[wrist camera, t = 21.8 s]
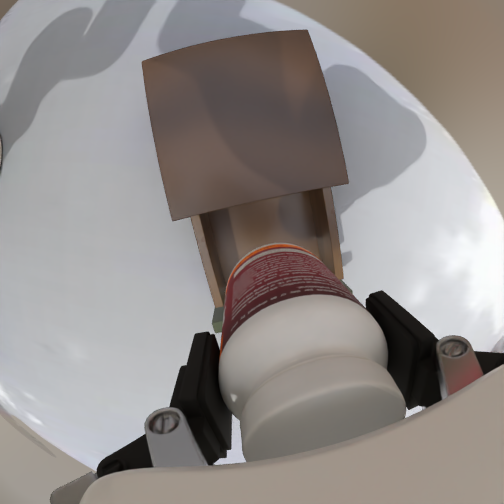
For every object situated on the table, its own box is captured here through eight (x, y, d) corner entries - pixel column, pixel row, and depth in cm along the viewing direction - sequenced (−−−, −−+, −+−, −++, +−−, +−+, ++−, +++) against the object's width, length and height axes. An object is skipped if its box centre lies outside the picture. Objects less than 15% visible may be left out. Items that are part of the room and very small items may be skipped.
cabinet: (321, 182, 29) (349, 183, 21) (190, 211, 29) (172, 221, 21) (291, 62, 25) (307, 29, 17) (164, 88, 25) (141, 61, 17)
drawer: (337, 315, 32) (355, 342, 26) (229, 340, 32) (228, 372, 26) (313, 160, 27) (333, 155, 21) (188, 187, 27) (174, 188, 21)
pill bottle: (205, 278, 16) (158, 429, 5) (294, 219, 15) (401, 298, 5) (262, 350, 17) (284, 502, 7) (343, 301, 17) (438, 425, 6)
